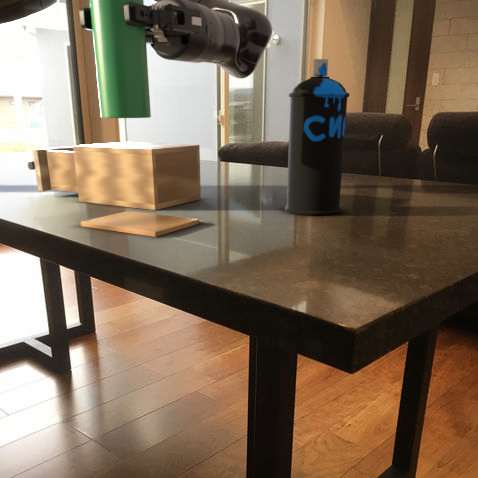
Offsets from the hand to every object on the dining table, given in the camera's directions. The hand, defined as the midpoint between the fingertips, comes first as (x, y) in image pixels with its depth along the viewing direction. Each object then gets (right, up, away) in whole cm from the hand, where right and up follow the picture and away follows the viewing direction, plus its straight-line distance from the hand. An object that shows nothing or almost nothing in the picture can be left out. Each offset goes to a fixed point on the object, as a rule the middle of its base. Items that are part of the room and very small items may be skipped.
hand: (104, 15), depth 60 cm
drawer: (-12, -12, +31) cm, 35 cm away
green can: (+1, -9, +6) cm, 11 cm away
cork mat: (+3, -23, +7) cm, 24 cm away
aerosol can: (+26, -19, +17) cm, 37 cm away
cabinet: (-1, -15, +25) cm, 30 cm away
